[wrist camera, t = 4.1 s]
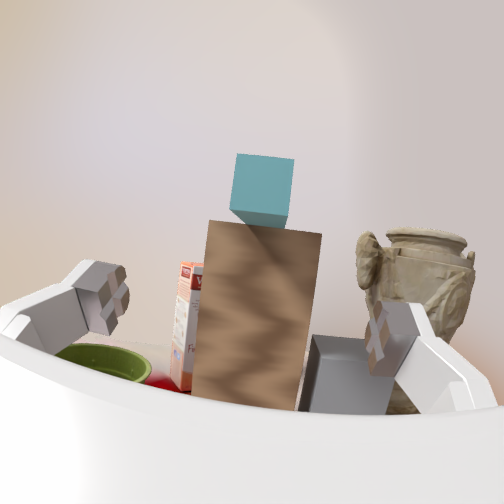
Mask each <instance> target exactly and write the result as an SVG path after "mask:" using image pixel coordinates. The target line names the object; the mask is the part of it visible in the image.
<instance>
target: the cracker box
mask: <svg viewBox="0 0 504 504" xmlns="http://www.w3.org/2000/svg"><path fill="white" fill-rule="evenodd" d="M203 266H204V264H203V263H193V262H181V266H180V275H179V284H178V292H177V301H176V310H175V321H174V332H173V343H172V356H171V369H170V378H171V380H172V381H173V382H174V383H175V385H176V386H177V387H178V388H179V389H180V391H192V378H193V366H194V354H195V343H196V332H197V322H198V312H199V302H200V293H201V284H202V275H203Z"/></svg>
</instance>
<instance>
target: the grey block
mask: <svg viewBox="0 0 504 504" xmlns="http://www.w3.org/2000/svg"><path fill="white" fill-rule="evenodd" d="M369 355H370V353H369V352H368V351H367V350H366V348H365V339H356V338H344V337H333V336H323V335H312V339H311V345H310V351H309V356H308V362H307V367H306V373H305V378H304V383H303V388H302V393H301V398H300V403H299V408H298V411H299V412H311V413H326V414H347V415H385V413H386V410H387V407H388V403H389V400H390V396H391V393H392V389H393V385H394V382H395V379H394V378H395V377H381V376H370V372H369V366H368V357H369Z"/></svg>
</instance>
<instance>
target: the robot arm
mask: <svg viewBox="0 0 504 504" xmlns="http://www.w3.org/2000/svg"><path fill="white" fill-rule="evenodd" d="M125 278H126V272H125V268H124V267H123V266H121V265H116V264H110V263H105V262H100V261H95V260H89V259H85V260H82V261H81V262H80V263H79V264H78V265H77V266H76V267H75V268H74V269H73V270H72V272H70V274H69V275H68V276H67V277H66V278H65V279H64V280H63V281H62V282H61V283H60V284H53V285H51V286H48V287H46V288H44V289H41V290H39V291H37V292H34V293H32V294H29V295H27V296H25V297H23V298H20V299H18V300H15V301H13V302H11V303H8V304H6V305H4V306H2V307H1V308H0V504H504V405H502V406H498V405H497V402H496V399H495V397H494V394H493V391H492V389H491V386H490V384H489V381H488V379H487V378H486V377H485V376H484V375H483V374H482V373H480V372H479V371H478V370H477V369H476V368H475V367H474V366H473V365H471V364H470V363H469V362H468V361H467V360H466V359H465V358H463V357H462V356H461V355H460V354H459V353H458V352H456V351H455V350H454V349H453V348H452V347H450V346H449V345H448V344H447V343H446V342H445V341H443V340H442V339H441V338H440V337H436V336H435V334H434V331H433V329H432V326H431V324H430V322H429V319H428V317H427V315H426V312H425V310H424V308H423V305H421V304H420V303H408V302H406V303H401V302H390V301H379V300H378V301H377V302H376V304H375V306H374V309H373V313H374V318H372V319H371V320H370V321H369V322H368V325H367V328H366V332H365V348H366V350H367V351H368V352H369V353H370V355H369V357H368V366H369V372H370V376H381V377H395V378H394V379H395V380H396V381H397V383H398V384H399V385H400V387H401V388H402V389H403V391H404V392H405V393H406V394H407V396H408V397H409V398H410V400H411V401H412V402H413V404H414V405H415V406H416V408H417V409H418V410H419V412H420V413H421V414H410V415H347V414H326V413H311V412H299V411H289V410H279V409H270V408H262V407H255V406H248V405H241V404H235V403H228V402H222V401H217V400H211V399H206V398H201V397H196V396H191V395H186V394H181V393H177V392H172V391H168V390H164V389H160V388H156V387H152V386H148V385H144V384H140V383H136V382H133V381H129V380H125V379H122V378H118V377H115V376H112V375H108V374H105V373H102V372H99V371H96V370H93V369H90V368H86V367H84V366H81V365H78V364H75V363H72V362H69V361H66V360H64V359H61V358H58V357H56V356H54V355H55V354H57V353H58V352H60V351H61V350H63V349H64V348H66V347H67V346H69V345H70V344H72V343H73V342H75V341H76V340H78V339H79V338H81V337H82V336H84V335H85V334H87V333H88V331H90V332H94V333H99V334H103V335H107V336H110V335H111V333H112V332H113V330H114V329H115V327H116V326H117V324H118V320H117V317H119V316H121V315H123V314H124V313H125V311H126V310H127V308H128V303H129V295H130V294H129V288H128V287H127V286H126V284H125V283H124V280H125Z"/></svg>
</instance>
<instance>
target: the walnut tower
mask: <svg viewBox="0 0 504 504" xmlns="http://www.w3.org/2000/svg"><path fill="white" fill-rule="evenodd" d="M321 238H322V234H320V233H312V232H305V231H297V230H289V229H281V228H273V227H265V226H257V225H249V224H240V223H231V222H223V221H213V220H209V227H208V234H207V242H206V250H205V258H204V266H203V275H202V284H201V293H200V302H199V312H198V322H197V332H196V343H195V354H194V366H193V378H192V391H191V396H196V397H201V398H206V399H211V400H217V401H222V402H228V403H235V404H241V405H248V406H255V407H262V408H270V409H279V410H289V411H294V408H295V403H296V398H297V393H298V388H299V382H300V377H301V372H302V366H303V361H304V355H305V349H306V343H307V337H308V330H309V325H310V318H311V312H312V306H313V299H314V292H315V285H316V278H317V270H318V262H319V255H320V245H321Z"/></svg>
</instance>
